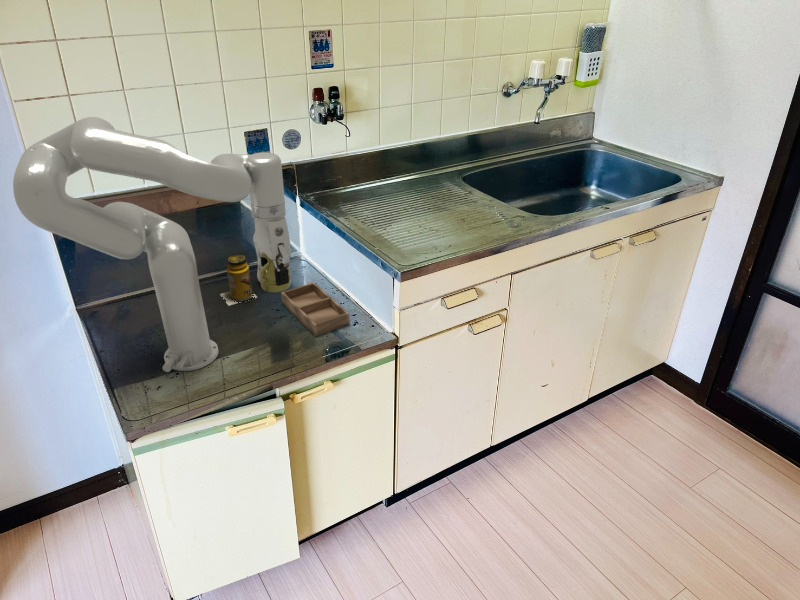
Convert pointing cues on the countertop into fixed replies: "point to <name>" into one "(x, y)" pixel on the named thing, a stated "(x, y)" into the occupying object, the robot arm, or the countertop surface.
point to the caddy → (315, 309)
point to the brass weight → (271, 276)
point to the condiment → (238, 280)
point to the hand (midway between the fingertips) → (275, 276)
